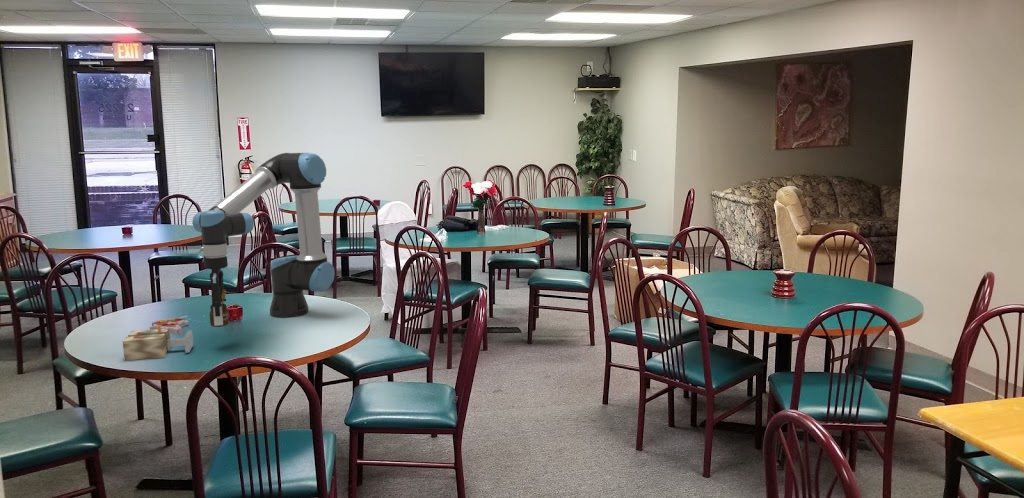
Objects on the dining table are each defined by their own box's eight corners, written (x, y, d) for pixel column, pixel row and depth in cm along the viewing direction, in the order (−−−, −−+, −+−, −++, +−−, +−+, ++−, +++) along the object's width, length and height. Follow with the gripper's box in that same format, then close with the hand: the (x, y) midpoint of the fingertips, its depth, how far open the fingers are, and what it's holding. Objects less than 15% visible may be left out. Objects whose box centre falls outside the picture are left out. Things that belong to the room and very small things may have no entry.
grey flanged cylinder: (193, 345, 268) (191, 320, 267) (189, 352, 260) (187, 326, 258) (149, 348, 265) (146, 323, 263) (143, 356, 256) (141, 330, 255)
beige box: (170, 346, 268) (169, 327, 267) (163, 357, 256) (162, 337, 255) (133, 349, 265) (131, 330, 264) (124, 360, 253) (122, 340, 252)
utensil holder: (206, 326, 263) (203, 292, 261) (220, 322, 269) (217, 288, 267) (219, 328, 261) (217, 293, 259) (233, 323, 267) (230, 289, 265)
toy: (186, 313, 303) (199, 324, 286) (187, 321, 303) (199, 334, 287) (145, 319, 294) (156, 331, 278) (146, 328, 295) (157, 341, 279)
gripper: (207, 252, 269) (211, 317, 273) (199, 261, 251) (204, 330, 255) (229, 251, 271) (234, 315, 275) (223, 260, 253) (228, 328, 257)
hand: (219, 322), depth 265 cm, fingers closed on utensil holder, 6 cm apart
